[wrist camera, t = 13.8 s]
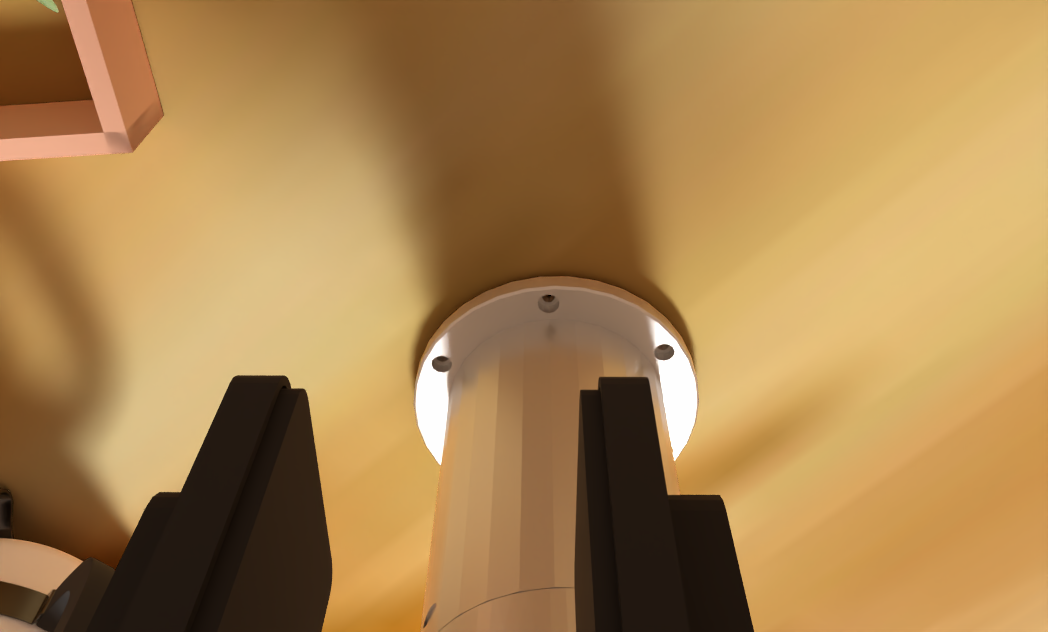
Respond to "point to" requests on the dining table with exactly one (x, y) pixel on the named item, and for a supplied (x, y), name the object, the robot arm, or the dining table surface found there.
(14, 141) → the planter frame
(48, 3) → the seedling
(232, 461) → the robot arm
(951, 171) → the dining table surface
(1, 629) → the lantern
